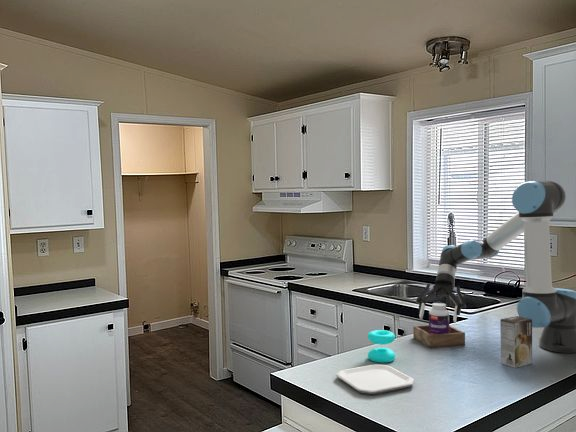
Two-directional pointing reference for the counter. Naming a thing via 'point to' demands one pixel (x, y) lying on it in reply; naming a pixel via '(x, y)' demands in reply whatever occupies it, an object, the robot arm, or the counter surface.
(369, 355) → the donuts
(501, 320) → the coffee box
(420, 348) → the counter surface
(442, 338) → the crate
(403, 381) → the plate
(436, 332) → the pill bottle
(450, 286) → the robot arm
